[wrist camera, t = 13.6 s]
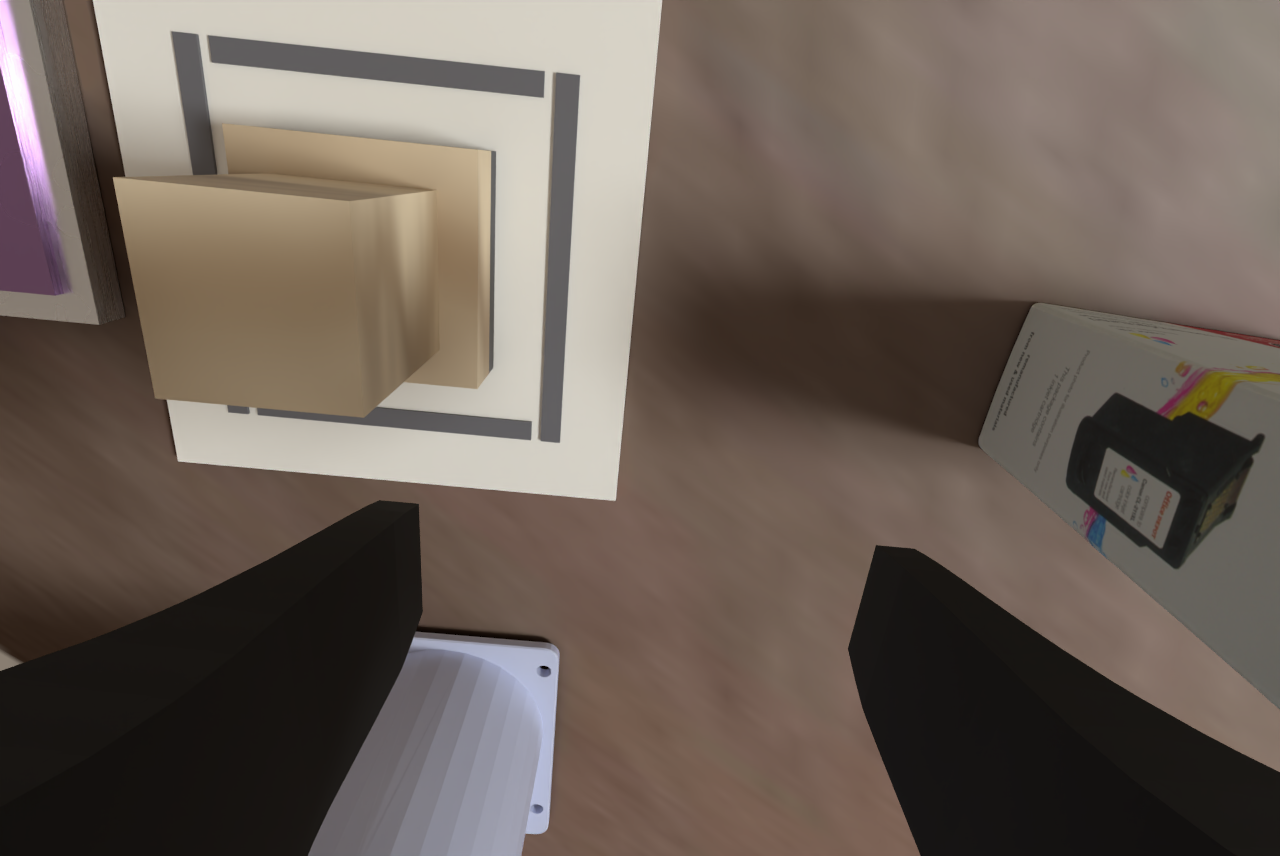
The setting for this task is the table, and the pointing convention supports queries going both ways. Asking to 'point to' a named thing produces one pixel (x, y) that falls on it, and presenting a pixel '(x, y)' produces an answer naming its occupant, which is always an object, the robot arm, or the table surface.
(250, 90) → the paper sheet
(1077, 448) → the ink box
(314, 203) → the wooden stamp
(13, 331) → the table surface
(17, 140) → the ink pad
